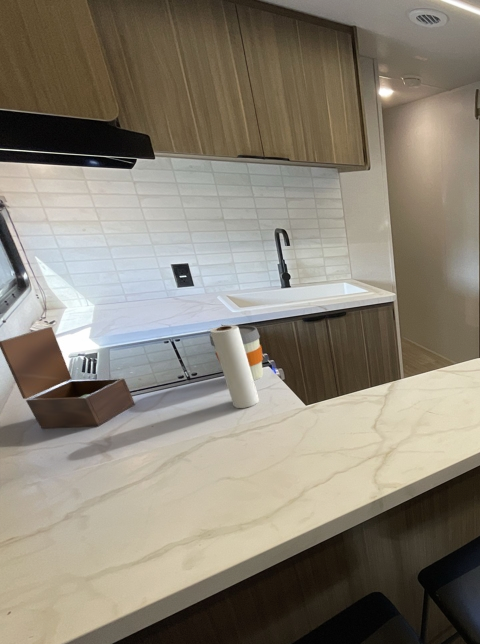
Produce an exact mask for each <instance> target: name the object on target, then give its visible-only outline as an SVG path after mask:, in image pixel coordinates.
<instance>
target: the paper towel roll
mask: <svg viewBox="0 0 480 644" xmlns="http://www.w3.org/2000/svg"><path fill="white" fill-rule="evenodd" d="M238 326H239V325H234V324H221V325H220V326H217V327H214V328H212V329H210V330H209V332H210V333H211V335H212V338H213V342H214V345H215V348H216V351H217V354H218V357H219V360H218V362H219V361H220V362H219V364H221V365H220V367H221V369H222V374H223V376H224V379H225V383H226V386H227V389H228V391H229V394H230V398H231V401H232V402H231V403H232V405H233V407H234V408H237V409H244V408H245V409H246V408H250V407H253V406H256V405H257V404H258V403H259V402H260V398H259V394H258V391H257V387H256V383H255V381H254V380H253V377H252V373H251V370H250V366H249V363H248V359H247V356H246V352H245V349H244V345H243V342H242V338H241V335H240V331H239V328H238ZM216 351H215V352H216Z"/></svg>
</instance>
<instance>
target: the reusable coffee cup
mask: <svg viewBox="0 0 480 644" xmlns="http://www.w3.org/2000/svg"><path fill="white" fill-rule="evenodd" d="M237 326H238V328H239V331H240V335H241V338H242V342H243V345H244V349H245V352H246V356H247V359H248V363H249V366H250V370H251V373H252V377H253V380H254V382H255V381H257V380H259V379H261V378H262V377H264V370H263V369H264V368H263V360H264V358H263V348H262V344H260V338H261V335H260V334H259V330H258V329H257V327H256V326H254V325H237ZM208 336H209V341H210V345H211V346H212V347H213V349H214V351H215V353H214V355H215V356H216V359H217V361H218V363H219V364H220V361H219V357H218V354H217V351H216V348H215V345H214V342H213V338H212V335H211V332H210V333H209V335H208ZM220 366H221V364H220Z"/></svg>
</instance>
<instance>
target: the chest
mask: <svg viewBox="0 0 480 644" xmlns="http://www.w3.org/2000/svg"><path fill="white" fill-rule="evenodd" d="M85 394H90V395H88V396H86V397H81V396H83V395H85ZM25 402H26V403H27V406H28V407H29V409H30V410H31V412H32V414H33V416H34V418H35V420H36V422H37V423H38V425H39V427H40V429H63V428H65V429H66V428H67V429H68V428H91V427H92V428H93V427H100V426H102V425H103V424H105V423H107V422H108V421H110V420H112V419H113V418H115V417H116V416H118V415H120V414H122V413H123V412H126V411H127V410H128V409H130V408H132V407H133V406H135V405H136V403H135V400H134V398H133V396H132V393H131V392H130V389H129V386H128V384H127V381H126V380H125V378H106V379H105V378H98V379H97V378H96V379H70V380H68V381H65V382H63V383H61V384H59V385H56V386H54V387H52V388H49V389H47V390H45V391H43V392H40V393H38V394H36V395H34V396H31V397H29V398H27V399H25Z"/></svg>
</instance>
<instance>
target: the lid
mask: <svg viewBox="0 0 480 644" xmlns="http://www.w3.org/2000/svg"><path fill="white" fill-rule="evenodd" d="M0 350H1V353H2V355H3V357H4V360H5V362H6V364H7V366H8V369H9V370H10V372H11V375H12V377H13V379H14V381H15V384H16V386H17V389H18V391H19V393H20V396H21V397H22V399H24V400H28V399H30V398H32V397H34V396H36V395H39V394H41V393H43V392H45V391H48V390H50V389H52V388H54V387H57V386H59V385H61V384H64V383H66V382H68V381H70V380H73V379H72V376H71V374H70V370H69V368H68V365H67V362H66V359H65V358H64V356H63V352H62V349H61V348H60V345H59V342H58V340H57V337H56V335H55V332H54V329H53V327H52V326H46V327H43V328H40V329H36V330H33V331H30V332H26V333H23V334H20V335H17V336H13V337H9V338H6V339H2V340H0Z"/></svg>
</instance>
